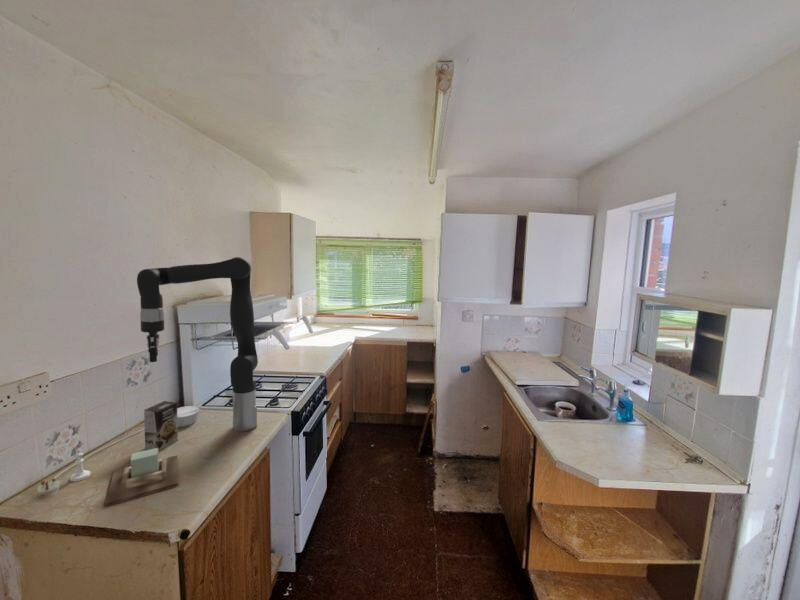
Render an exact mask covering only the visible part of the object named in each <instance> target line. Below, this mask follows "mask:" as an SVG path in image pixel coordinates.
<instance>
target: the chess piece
mask: <svg viewBox="0 0 800 600" xmlns="http://www.w3.org/2000/svg"><path fill="white" fill-rule="evenodd" d="M83 456H84V452H83V449H81V447H80V448H77V449H76V450H75V454H74V458H75V459H76V460H75V461H74V463H75V464H77V466H76V472H75V473H73V474H72V475H71V476H70V479H69V480H70V481H71V482H80V481H82V480H85V479H87V478H88V477H90V476H91V471H90V470H87V469H84V466H83V462H84V461H85V460H84V458H83Z"/></svg>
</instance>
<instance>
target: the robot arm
mask: <svg viewBox="0 0 800 600" xmlns="http://www.w3.org/2000/svg"><path fill="white" fill-rule="evenodd" d="M251 272H252V265H251V263H250V262H249V261H248V260H247V259H246V258H244V257H242V256H241V257H239V256H235V257H232V258H230V259H226V260H223V261H219V262H211V263H200V264H197V263H196V264H184V265H183V264H182V265H173V266H170V267H155V268H145V269H142V270H140V271H139V272H138V273H137V276H136V285H137V289H138V293H139V296H140V314H139V315H140V316H139V318H140V331H141V332H142V333H148V334H147V335H146V341H147V343H146V346H147V348H148V350H147V352H148V353H149V362H150V363H155V362H157V361H158V358H157V357H158V355H159V354H158V352H159V351H158V350H159V349H158V347H159V344H160V334H158V333H159V332H163V331H164V330H165V312H164V304H163V303H164V302H163V294H161V293H160V286H164V285H170V284H173V285H174V284H175V285H176V284H177V285H179V284H185V283H186V284H187V283H194V282H201V281H205V280H213V279H214V280H215V279H230V284H231V285H230V286H231V295H230V304H229V305H230V306H229V315H230V325H231V329H232V332H233V333H234V336H235V338H236V342H237V343H236V344H237V355H236V357H234V359H232V360H231V362H230V371H229V374H230V385H231V388H232V428H233V430H234V431H236V432H246V431H251V430H252V429H254V428H257V426H258V406H257V403H256V400H257V398H256V397H257V395H256V394H257V392H256V391H257V389H256V388H257V384H256V382H255V380H254V371H255V369H256V368H257V366H258V363H259V361H258V360H259V359H258V354H257V348H256V340H255V314H254V306H253V305H254V304H253V298H252V292H251V274H252V273H251Z"/></svg>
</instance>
